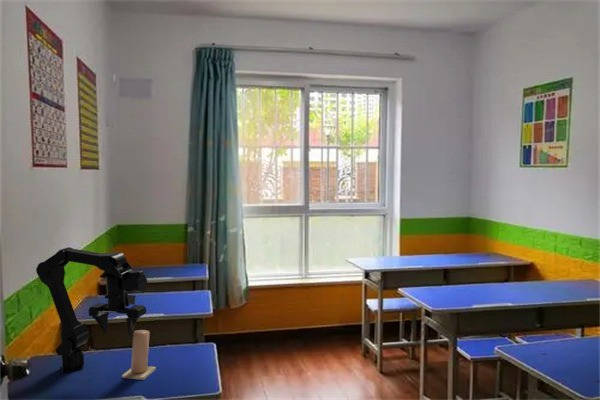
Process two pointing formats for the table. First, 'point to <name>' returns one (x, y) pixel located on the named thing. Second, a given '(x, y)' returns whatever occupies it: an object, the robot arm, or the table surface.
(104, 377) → the table surface
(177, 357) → the table surface
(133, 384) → the table surface
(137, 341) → the tan rounded cylinder
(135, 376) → the coaster
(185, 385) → the table surface
